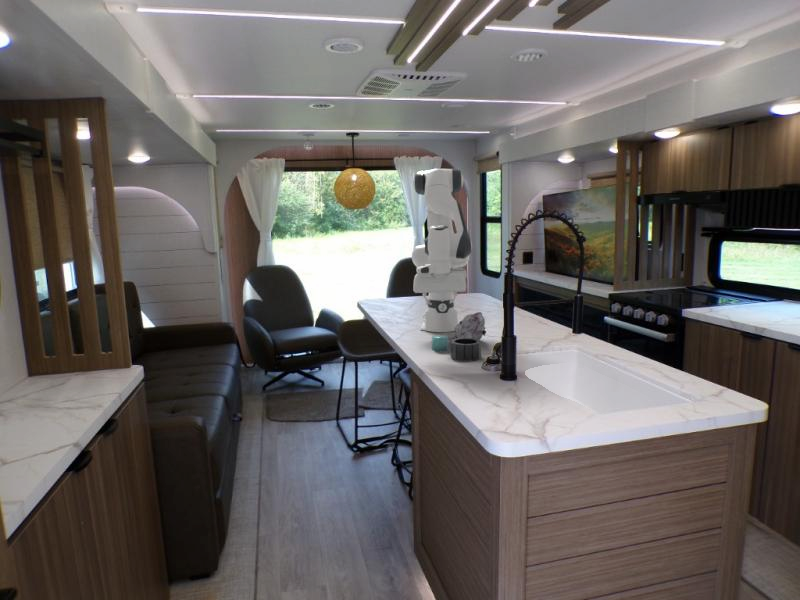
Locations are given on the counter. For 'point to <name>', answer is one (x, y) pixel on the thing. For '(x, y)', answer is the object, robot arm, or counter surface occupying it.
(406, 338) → the counter surface
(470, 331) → the rock
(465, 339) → the grey short cylinder
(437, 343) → the teal cube
